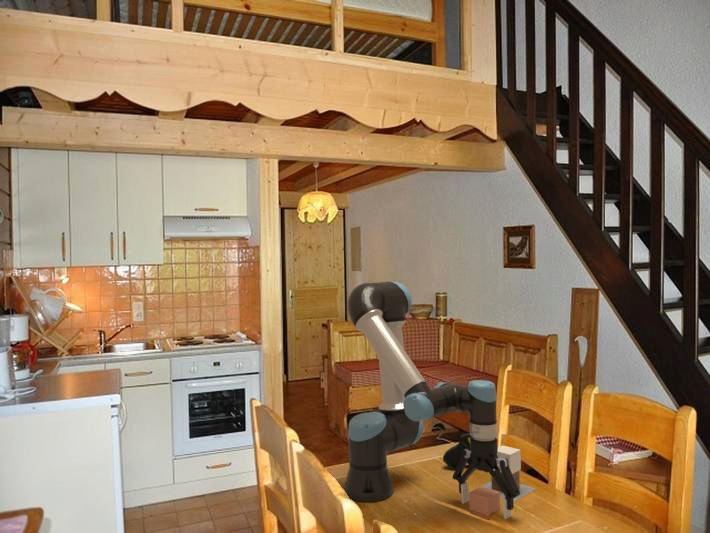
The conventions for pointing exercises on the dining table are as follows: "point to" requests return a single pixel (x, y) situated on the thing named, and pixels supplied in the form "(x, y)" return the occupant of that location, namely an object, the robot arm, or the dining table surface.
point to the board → (523, 490)
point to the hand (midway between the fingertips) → (485, 513)
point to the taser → (457, 452)
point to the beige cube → (510, 457)
